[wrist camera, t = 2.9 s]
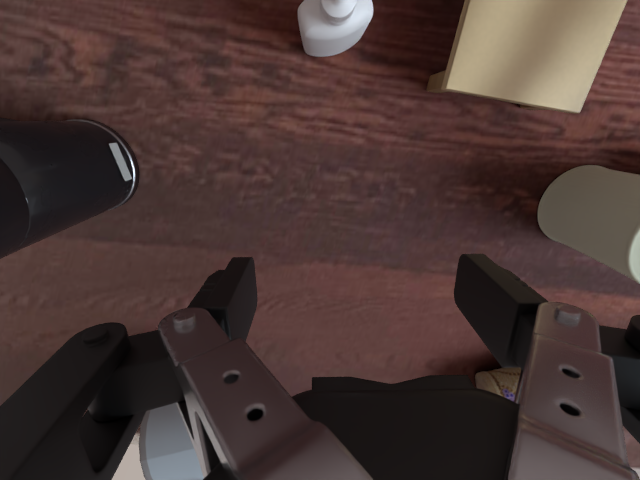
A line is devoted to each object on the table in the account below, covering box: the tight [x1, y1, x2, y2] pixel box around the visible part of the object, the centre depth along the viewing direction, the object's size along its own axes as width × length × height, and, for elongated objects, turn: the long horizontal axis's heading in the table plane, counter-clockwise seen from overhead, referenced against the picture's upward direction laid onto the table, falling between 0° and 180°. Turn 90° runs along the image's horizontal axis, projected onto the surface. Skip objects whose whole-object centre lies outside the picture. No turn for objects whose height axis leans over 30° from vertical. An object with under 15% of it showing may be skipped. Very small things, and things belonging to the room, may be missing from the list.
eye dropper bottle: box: [298, 0, 373, 57], centre depth 25 cm, size 4×6×12 cm
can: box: [538, 165, 640, 284], centre depth 31 cm, size 9×9×12 cm
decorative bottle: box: [475, 367, 521, 402], centre depth 42 cm, size 26×8×7 cm, turn 105°
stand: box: [426, 0, 627, 113], centre depth 28 cm, size 12×11×6 cm
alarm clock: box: [139, 403, 204, 480], centre depth 40 cm, size 15×8×14 cm, turn 17°
